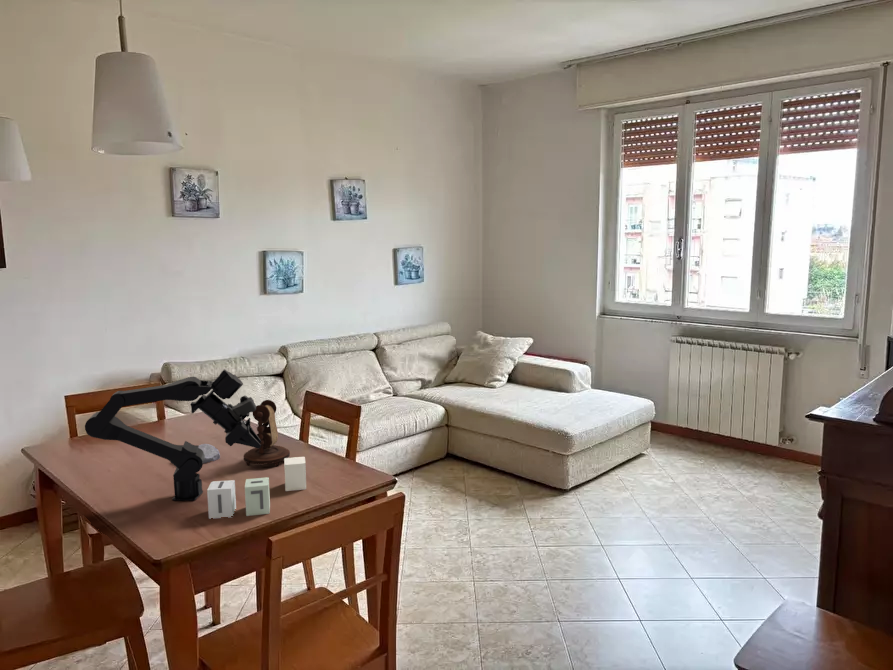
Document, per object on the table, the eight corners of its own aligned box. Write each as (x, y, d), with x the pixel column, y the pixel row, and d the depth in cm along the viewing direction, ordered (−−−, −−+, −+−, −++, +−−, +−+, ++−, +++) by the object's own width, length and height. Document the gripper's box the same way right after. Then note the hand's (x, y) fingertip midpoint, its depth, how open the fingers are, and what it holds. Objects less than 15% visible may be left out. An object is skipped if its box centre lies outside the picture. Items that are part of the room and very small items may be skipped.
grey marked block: (208, 519, 169) (206, 489, 168) (213, 509, 175) (211, 480, 174) (232, 517, 170) (230, 488, 169) (236, 508, 176) (234, 479, 175)
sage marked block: (246, 516, 171) (244, 487, 169) (247, 507, 177) (245, 478, 175) (269, 513, 172) (268, 484, 171) (270, 504, 178) (268, 476, 177)
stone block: (223, 463, 216) (207, 452, 222) (223, 451, 215) (207, 439, 221) (190, 475, 207) (174, 462, 213) (190, 461, 206) (174, 449, 212)
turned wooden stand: (281, 469, 205) (279, 408, 202) (236, 468, 206) (233, 407, 203) (295, 453, 220) (293, 397, 217) (253, 453, 221) (250, 396, 218)
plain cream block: (285, 491, 188) (284, 465, 186) (285, 483, 193) (284, 458, 192) (306, 489, 189) (305, 463, 188) (305, 481, 195) (304, 456, 194)
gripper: (235, 397, 174) (279, 433, 178) (240, 382, 192) (279, 416, 196) (206, 427, 173) (251, 463, 178) (213, 410, 191) (254, 443, 196)
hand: (260, 445), depth 187 cm, fingers open, 4 cm apart
